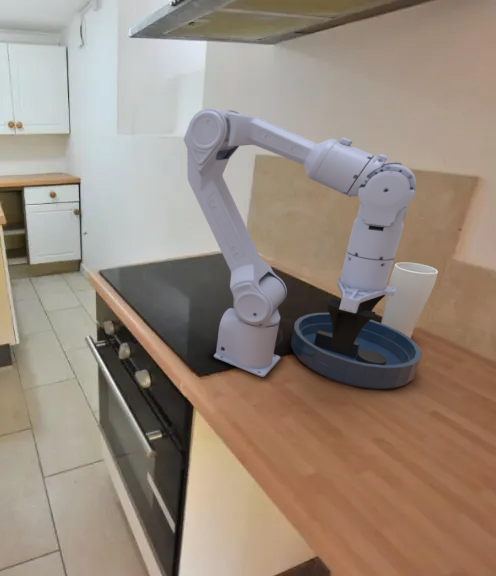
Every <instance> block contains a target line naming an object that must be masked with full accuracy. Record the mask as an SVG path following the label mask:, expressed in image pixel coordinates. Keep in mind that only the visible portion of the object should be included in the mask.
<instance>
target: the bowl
mask: <svg viewBox="0 0 496 576" xmlns="http://www.w3.org/2000/svg"><path fill="white" fill-rule="evenodd" d="M319 330H320V331H324V332H327V333H330V334H332V321H331V317H330V314H329V312H313V313H309V314H305V315H302V316H300V317H298V319H297V320H295V321H294V325H293V330H292V335H291V340H290V347H291V349H292V352H293V354H294V355H295V356H296V357H297V358H298V360H299V361H300V362H301V363H302V364H304V365H305V366H306V367H307V368H309V369H310V370H312V371H314V372H316V373H317V374H319V375H321V376H323V377H325V378H328V379H330V380H332V381H335V382H339V383H342V384H345V385H348V386H353V387H357V388H363V389H369V390H370V389H371V390H391V389H395V388H399V387H402V386H405V385H407V384H409V383H410V382H411V381H413V380H414V377H415V376H416V372H417V370H418V367H419V364H420V361H421V358H422V355H423V354H422V350H421V349H420V346H419V345H418V344H417V343H416V342H415V341H414V340H413V339H412V337H411V338H409V337H408V336H406V335H405V334H403V333H402V332H400V331H398V330H395V329H393V328H391V327H389V326H387V325H384V324H382V323H381V322H378V321H376V320H373V319H371V320H370V321H368V322H367V323H366V324H365V325H364V327H363V328H362V330H361V331H360V332H359V334H358V336H357V338H356V340H355V341H357V342H360V345H359V349H358V351H360V350H371V351H375V352H378V353H380V354H382V355H383V356H384V357H386V359H387V362H386V365H377V364H367V363H362V362H358V361H357V359H356V357H357V356H356V357H355V358H352V357H349V356H346V355H342V354H339V353H336V352H333V351H330V350H327V349H324V348H321V347H318V346H315V345H314V342H315V338H316V334H317V332H318V331H319ZM357 353H358V352H357Z"/></svg>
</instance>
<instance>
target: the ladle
mask: <svg viewBox="0 0 496 576" xmlns="http://www.w3.org/2000/svg"><path fill="white" fill-rule="evenodd" d="M314 345H315V346H318V347H321V348H324V349H327V350H330V351H333V352H336V353H339V354H342V355H346V356H349V357H352V358H355V357H356V356H357V357H356V359H357V361H358V362H362V363H367V364H377V365H386V362H387V359H386V357H384V356H383V355H382V354H380V353H378V352H375V351H371V350H360V351H358V349H359V345H360V342H357V341H355V342H354V344H353V346H352V347H351V349H350V350H349V351H344V350H341V349H338V348H335V347H333V340H332V334H330V333H327V332H324V331H320V330H319V331H318V332H317V334H316V338H315V342H314ZM357 352H358V353H357Z"/></svg>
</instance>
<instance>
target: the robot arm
mask: <svg viewBox="0 0 496 576" xmlns="http://www.w3.org/2000/svg"><path fill="white" fill-rule="evenodd" d="M183 141H184V144H185V147H186V149H187V151H186V152H187V153H186V155H187V157H186V160H187V161H186V162H187V164H186V165H187V180H188V183H189V186H190V188H191V190H192V192H193V194H194V196H195V198H196V201H197V203H198V205H199V207H200V209H201V211H202V213H203V216H204V218H205V220H206V222H207V225H208V226H209V228H210V231H211V233H212V235H213V237H214V239H215V241H216V243H217V245H218V248H219V249H220V251H221V254H222V256H223V259H224V260H225V262H226V264H227V266H228V268H229V270H230V281H229V289H230V291H231V294H232V297H233V307H229V308H228V309H226V310H225V311H224V313H223V315H222V317H221V319H220V322H219V326H218V333H217V340H216V341H217V342H216V350H215V353H214V354H213V358H215V359H216V360H219V361H222V362H224V363H227V364H229V365H231V366H234V367H236V368H238V369H241V370H243V371H246V372H248V373H251V374H253V375H255V376H258V377H261V378H264V377H266V375H267V374H268V373H269V372H270V371H271V370H272V369H273V368H274V367H275V366H276V365H277V363H278V362H279V361H280V360H281V356H280V355H278V354H274V353H275V348H276V343H277V337H278V333H279V328H280V327H279V326H280V321H281V315H280V313H279V309H278V307H279V306H280V305H281V304H283V302H284V301H285V300H286V298H287V294H288V290H287V286H286V283H285V282H284V280H283V279H282V278H281V277H280V276H279V275H277V274H276V273H275V272H274V270H273V269H272V266H271V265H270V264H269V263H267V262H266V261H265V260H263V259H262V258H261V255H260V253H259V251H258V249H257V247H256V245H255V243H254V240H253V239H252V236H251V234H250V232H249V230H248V228H247V225H246V223H245V220H244V219H243V217H242V215H241V213H240V211H239V209H238V207H237V204H236V201H234V198H233V196H232V194H231V191H230V189H229V187H228V185H227V182H226V180H225V178H224V177H223V175H224V172H225V170H226V167H227V165H228V163H229V161H230V158H231V157H232V156H233V154H235V152H236V151H237V150H238V149H239V148H240V147H242V146H255V147H258V148H261V149H263V150H265V151H268V152H271V153H273V154H276V155H278V156H281V157H283V158H285V159H288V160H291V161H293V162H296V163H297V164H301V165H303V167H304V169H305V173H306V176H307V178H308V179H310V180H312V181H314V182H317V183H319V184H321V185H323V186H326V187H327V188H329V189H332V190H334V191H335V192H338V193H340V194H343V195H345V196H347V197H350V198H352V197H357V198H358V201H359V208H358V211H357V215H356V218H355V219H354V220H353V223H352V227H351V232H350V235H349V238H348V239H349V240H348V244H347V248H346V251H345V256H344V260H343V264H342V268H341V272H340V277H339V278H338V279H337V282H336V285H337V287H338V290H339V293H340V295H341V299H340V300H337V299H332V298H331V299H330V300H329V301H328V302H327V306H326V308H327V313H329V314H330V317H331V321H332V340H333V347H335V348H338V349H341V350H344V351H349V350H350V349H351V347H352V346H353V344H354V342H355V340H356V338H357V336H358V334H359V332H360V331H361V330H362V328H363V327H364V325H365V324H366V323H367V322H368V321H370V320H373V318H374V317H375V315H376V312H375V311H373V310H374V308H375V307H376V306H377V305H378V303H379V302H380V301H381V300H382V299H384V297H386V295H387V296H393V295H394V294H395V291H396V289H395V288H393V287H389V286H388V283H389V279H390V276H391V272H392V269H393V264H394V262H395V258H396V254H397V251H398V248H399V244H400V242H401V237H402V235H403V231H404V227H405V224H404V222H403V221H405V219H406V217H407V214H408V209H407V207H408V205H410V204H411V202H412V201H413V200H414V198H415V196H416V194H417V192H416V185H417V181H416V176H415V174H414V172H413V171H412V170H411V169H410V168H409V167H407V166H405V165H404V164H403V163H402V162H400V161H399V162H398V161H389V162H387V160H388V159H389V156H388V155H386V154H383V153H380V154H379V155H378V156H377V155H375V154H373V153H370V152H368V151H365V150H362V149H360V148H358V147H355V146H352V144H353V140H352V139H349V138H347V137H341V139H340V140H338V139H335V138H329V139H327V140H326V139H325V140H324V141H322V142H318V143H316V142H314V141H312V140H310V139H308V138H306V137H304V136H302V135H299V134H297V133H295V132H293V131H291V130H289V129H286V128H284V127H282V126H279V125H277V124H276V123H273V122H271V121H269V120H267V119H264V118H262V117H260V116H255V115H251V114H246V113H240V112H239V111H236V110H232V109H231V110H222V109H221V110H220V109H217V108H213V107H208V108H203V109H201V110H199V111H198V112H197V113H195V114H194V115H193V116H192V118H191V119H190V122H189V124H188V127H187V129H186V132H185V134H184V137H183Z"/></svg>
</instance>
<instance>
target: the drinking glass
mask: <svg viewBox="0 0 496 576" xmlns="http://www.w3.org/2000/svg"><path fill="white" fill-rule="evenodd" d="M438 274H439V271H438V270H437V268H435V267H432V266H430V265H426V264H423V263H417V262H411V261H410V262H408V261H400V262H395V264H394V266H393V267H392V270H391V273H390V276H389V280H388V284H387V286H389V287H393V288H395V289H396V291H395V294H394V295H393V296H387V295H385V301H384V306H383V311H382V317H381V321H380V323H382V324H384V325H387V326H389V327H391V328H393V329H395V330H398V331H400V332H402V333H403V334H405V335H406V336H408V337H409V338H411V339H412V336H413V333H414V330H415V328H416V326H417V324H418V322H419V320H420V318H421V316H422V313H423V311H424V309H425V307H426V305H427V303H428V301H429V299H430V297H431V294H432V292H433V289H434V287H435V284H436V281H437V277H438Z"/></svg>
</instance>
